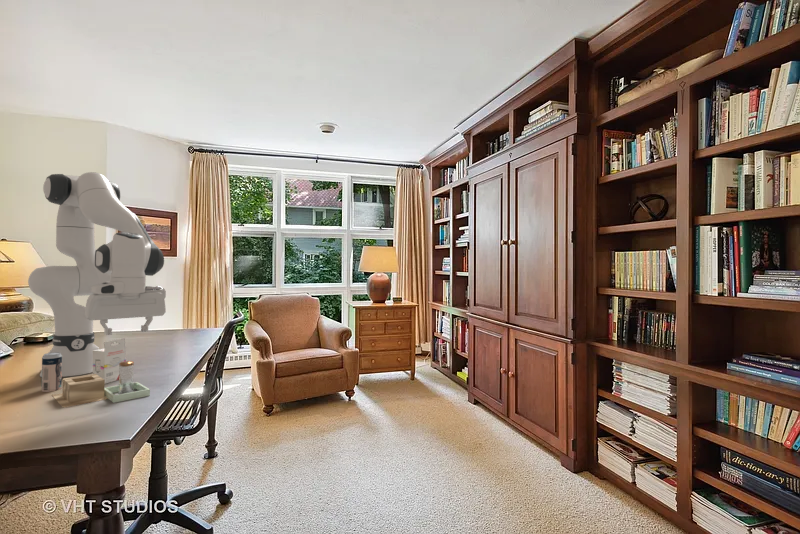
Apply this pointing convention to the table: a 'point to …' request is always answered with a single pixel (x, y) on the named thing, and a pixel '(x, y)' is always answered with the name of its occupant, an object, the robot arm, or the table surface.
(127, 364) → the steel pin
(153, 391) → the table surface
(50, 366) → the beer can
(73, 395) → the block
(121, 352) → the ink cartridge box
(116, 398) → the tray
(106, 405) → the table surface
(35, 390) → the table surface
